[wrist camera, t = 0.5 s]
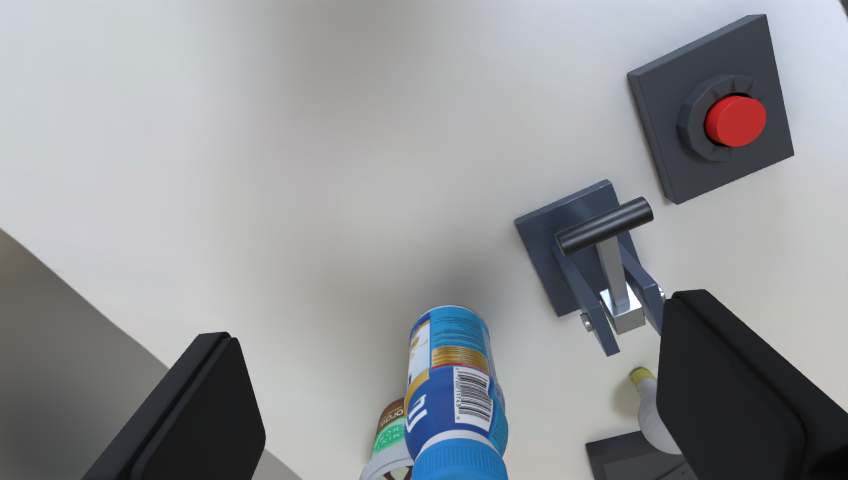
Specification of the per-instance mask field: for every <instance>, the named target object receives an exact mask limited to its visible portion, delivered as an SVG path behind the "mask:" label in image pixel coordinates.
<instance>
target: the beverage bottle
mask: <svg viewBox="0 0 848 480" xmlns="http://www.w3.org/2000/svg"><path fill="white" fill-rule="evenodd" d="M404 415H405V420H406V421H405V425H404V437H405V442H406V446H407V449H408V451H409V454H410V456H411V458H412V460H413V461H414V466H413V469H412V479H411V480H508V476H507V471H506V467H505V464H504V461H503V459H502V457H503V455H504V452H505V449H506V445H507V440H508V423H507V419H506V416H505V401H504V396H503V392H502V390H501V387H500V386H499V384H498V381H497V377H496V372H495V367H494V363H493V358H492V353H491V346H490V337H489V332H488V329H487V327H486V325H485V323H484V321H483V320H482V319H481V318H480V317H479V316H478V315H477V314H476V313H474V312H473V311H471V310H469V309H467V308H464V307H461V306H455V305H445V306H439V307H436V308H433V309H431V310H429V311H427V312H426V313H424V314H423V315H422V316H421V317H420V318H419V319H418V320H417V321H416V322H415V324H414V326H413V328H412V330H411V334H410V353H409V368H408V381H407V392H406V395H405V400H404Z"/></svg>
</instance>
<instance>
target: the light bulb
mask: <svg viewBox="0 0 848 480" xmlns="http://www.w3.org/2000/svg"><path fill="white" fill-rule="evenodd" d="M631 380H632V382H633V383H634V385H635V386H636V388H637V391H638V393H639V394H640V396H641V403H640V407H639V413H638V421H639V425H640V429H641V431H642V433H643V434H644V436H645V438H646V439H647V441H648V442H650V443H651V444H652V445H653V446H654V447H656V448H657V449H659V450H661V451H663V452H666V453H670V454H682V453H681V451H680V449H679V448H678V446H677V445H676V443H675V441H674V440H673V438H672V437H671V435H670V433H669V432H668V430H667V428H666V427H665V425H664V424H663V422H662V420H661V419H660V417H659V414H658V412H657V408H656V391H657V380H656V379H655V378H654V376H653V375H652V373H651V372H650V371H649V370H648V369H644V368H641V369H637V370H636V371H634V372H633V373H632V376H631Z"/></svg>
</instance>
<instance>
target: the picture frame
mask: <svg viewBox="0 0 848 480" xmlns="http://www.w3.org/2000/svg"><path fill="white" fill-rule="evenodd" d="M586 448H587V452H588V455H589V459H590V463H591V466H592V470H593V474H594V477H595V480H698V478H697V477H696V475H695V473H694V472H693V470H692V469H691V467H690V465H689V464H688V462H687V461H686V459H685V457H684V456H683V454H670V453H666V452H663V451H661V450H659V449H657V448H656V447H654V446H653V445H652V444H651V443H650V442H648V441H647V439H646V438H645V436H644V434H643V433H642V431H638V432H634V433H629V434H625V435H621V436H617V437H613V438H609V439H604V440H600V441H596V442H592V443H588V444H586Z"/></svg>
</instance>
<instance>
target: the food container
mask: <svg viewBox="0 0 848 480" xmlns="http://www.w3.org/2000/svg"><path fill="white" fill-rule="evenodd" d="M404 400H405V398H401V399H399V400H397V401H395V402H393V403H392V404H390V405H389V406H388V407H387V408H386V409H385V410H384V412H383V413H382V415H381V417H380V420H379V424H378V429H377V433H376V437H375V442H374V446H373V450H372V455H371V459H370V461H369V462H368V463H367V465H366V466H365V468H364V469H363V471H362V473H361V475H360V478H359V480H411V479H412V469H413V466H414V461H413V460H412V458H411V456H410V454H409V451H408V449H407V446H406V442H405V437H404V425H405V421H406V420H405V415H404Z"/></svg>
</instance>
